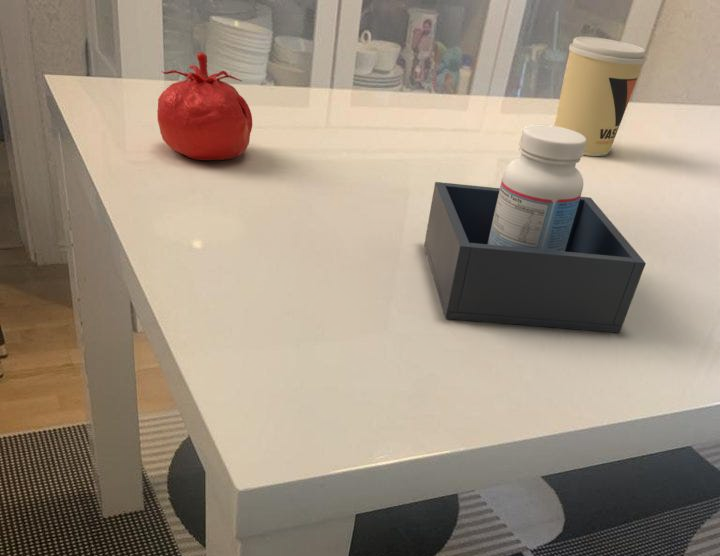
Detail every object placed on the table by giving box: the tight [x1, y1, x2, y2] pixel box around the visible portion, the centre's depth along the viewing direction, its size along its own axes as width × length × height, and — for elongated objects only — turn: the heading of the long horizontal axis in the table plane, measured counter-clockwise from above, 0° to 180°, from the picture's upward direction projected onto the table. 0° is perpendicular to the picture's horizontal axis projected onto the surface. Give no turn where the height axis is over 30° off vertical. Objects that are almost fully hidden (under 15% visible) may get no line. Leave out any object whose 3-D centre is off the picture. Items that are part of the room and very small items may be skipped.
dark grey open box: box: [423, 181, 646, 333], centre depth 59 cm, size 14×14×6 cm
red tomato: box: [156, 51, 253, 161], centre depth 75 cm, size 10×10×9 cm
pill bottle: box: [488, 124, 586, 252], centre depth 57 cm, size 6×6×11 cm
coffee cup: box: [554, 36, 647, 157], centre depth 94 cm, size 9×9×12 cm
